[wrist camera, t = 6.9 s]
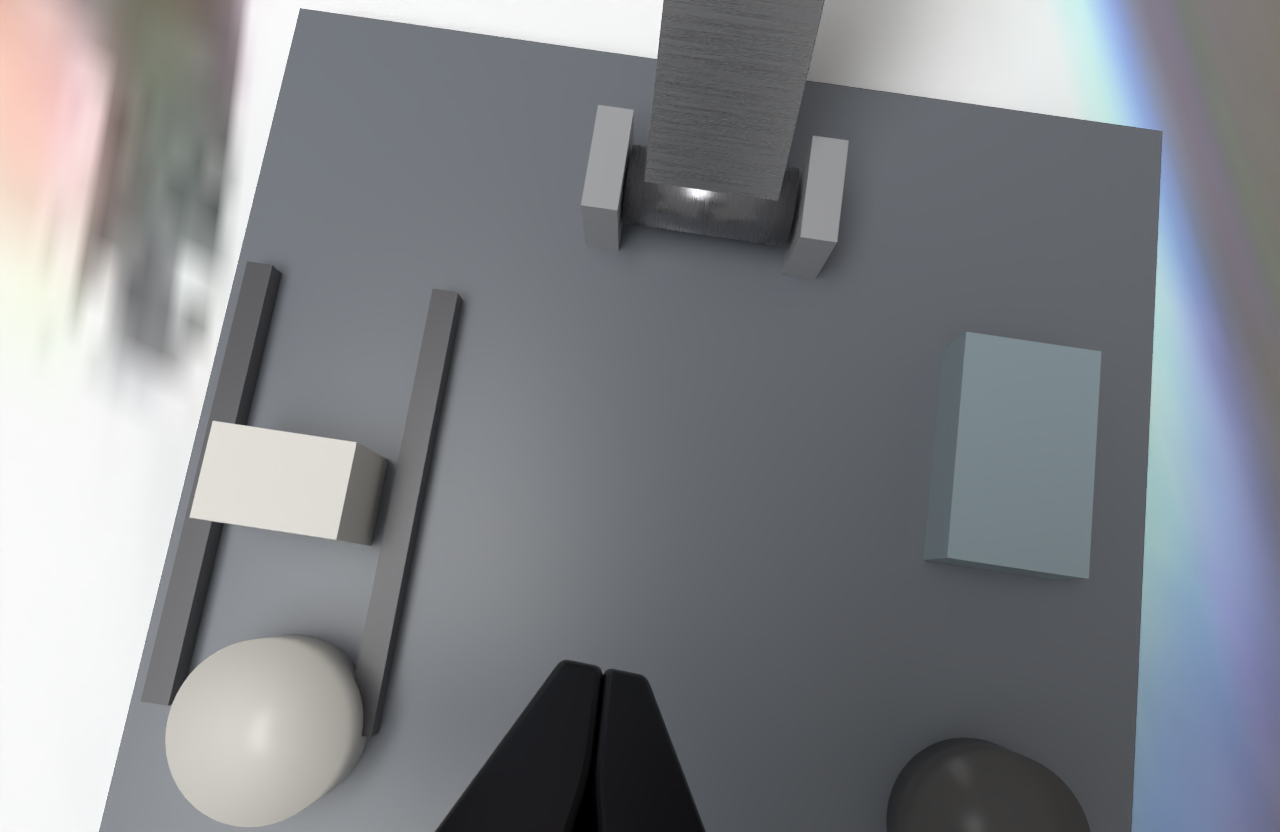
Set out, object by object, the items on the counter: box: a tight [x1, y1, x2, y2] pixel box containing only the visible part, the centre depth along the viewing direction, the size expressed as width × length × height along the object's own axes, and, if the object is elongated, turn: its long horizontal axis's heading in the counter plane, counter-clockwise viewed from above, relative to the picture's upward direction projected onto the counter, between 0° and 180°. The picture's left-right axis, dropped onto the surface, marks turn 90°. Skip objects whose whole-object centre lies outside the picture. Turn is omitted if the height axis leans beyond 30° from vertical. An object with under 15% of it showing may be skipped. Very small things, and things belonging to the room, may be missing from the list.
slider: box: [190, 421, 388, 546], centre depth 20 cm, size 2×3×2 cm, turn 81°
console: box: [99, 8, 1162, 832], centre depth 20 cm, size 24×22×4 cm
